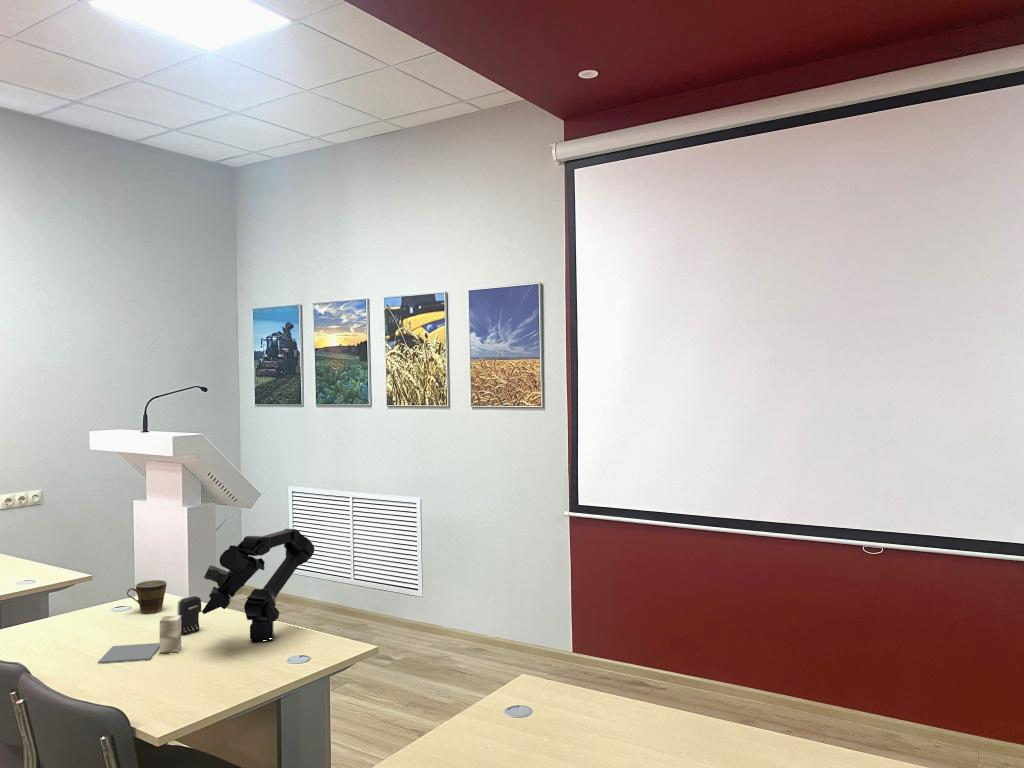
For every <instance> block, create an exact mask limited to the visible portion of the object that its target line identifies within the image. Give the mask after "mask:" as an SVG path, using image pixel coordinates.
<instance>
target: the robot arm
mask: <svg viewBox="0 0 1024 768" xmlns="http://www.w3.org/2000/svg"><path fill="white" fill-rule="evenodd" d="M281 545H283V547H284V549H285V559H284V560H283V561H282V562H281V563H280V565H279V566H278V567H277V569H276V570H275V572H274V573H273V574H272V576H271V577H270V578H269V580H268V581H267V583H266V584H265V585H264V587H262V588H261V589H260V588H254V589H253V590H252V591H251V593H250V595H248V596H247V597H246V601H245V603H244V607H243V608H244V613H245V616H246V620H247V621H251V624H250V626H249V640H250V642H251V641H252V642H251V643H254V642H253V641H263V640H270V639H269V638H272V639H273V640H274V638H273V633H274V622H276V621H277V620H278V619H279V616H280V611H279V609H277V607H276V605H277V602H276V601H277V599H276V598H277V596H278V595H279V593H280V592H281V590H282V589H283V588H284V586H285V585H286V583H287V582H288V581H289V579H290V578H291V576H293V574H294V572H295V571H296V570H297V569H298V567H299V566H301V565H303V564H305V563H306V562H308V561H309V560H310V559H311V558H312V557H313V555H314V553H315V546H314V543H312V541H311V540H310V539H309V538H308V537H306V536H305V535H303V534H302V533H301V532H300V531H299V530H298V529H296V528H285V529H283V530H280V531H276V532H272V533H269V534H265V535H246V536H244V538H243V540H242V541H240V542H239V544H238V545H231V544H230V545H229V547H228V549H225V550H224V551H223V552H222V553H221V555H220V556H219V565H220V566H221V567H223V568H225V569H227V570H228V571H227V570H225V569H222V568H219V567H217V566H215V565H209V566H208V568H207V570H206V573H205V574H204V576H203V579H205V580H208V581H209V580H210V581H212V582H215V583H216V585H217V586H213V587H212V589H211V591H210V593H209V594H208V597H209V598H210V599H209V600H208V602H206V604H205V605H204V607H203V609H201V613H202V614H203V615H205V614H208V613H210V612H212V611H214V610H217V609H220V608H222V609H223V610H226V609H227V608H228V607H229V606H230V604H231V601H232V600H231V599H232V598H233V597H234V596H235V595H236V593H237V592H238V591H239V590H240V589H241V588H243V587H244V586H245V584H246V583H247V582H248V581H249V580H250V579H251V578H252V577H253V576H254V575H255V574H256V573H257V572H258V571H259V570H262V571H264V570H265V560H263V558H261V557H262V556H264V555H266V554H267V553H269V552H270V551H271V549H273V548H276V547H278V546H281ZM257 556H259V557H260V556H261V557H260V558H256V557H257ZM272 639H271V640H272ZM273 640H272V641H273Z"/></svg>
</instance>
